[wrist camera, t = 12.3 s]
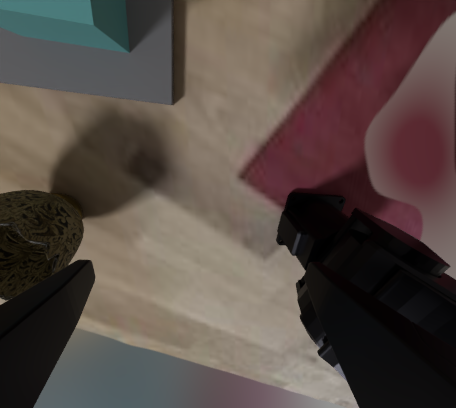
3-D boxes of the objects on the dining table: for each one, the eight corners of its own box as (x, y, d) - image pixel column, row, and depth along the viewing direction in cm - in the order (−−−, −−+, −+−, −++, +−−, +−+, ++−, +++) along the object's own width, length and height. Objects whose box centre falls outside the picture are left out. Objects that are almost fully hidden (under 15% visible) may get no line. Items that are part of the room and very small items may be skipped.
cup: (20, 231, 19) (-88, 305, 12) (13, 159, 16) (-134, 199, 9) (104, 246, 21) (53, 317, 14) (110, 183, 18) (51, 231, 11)
